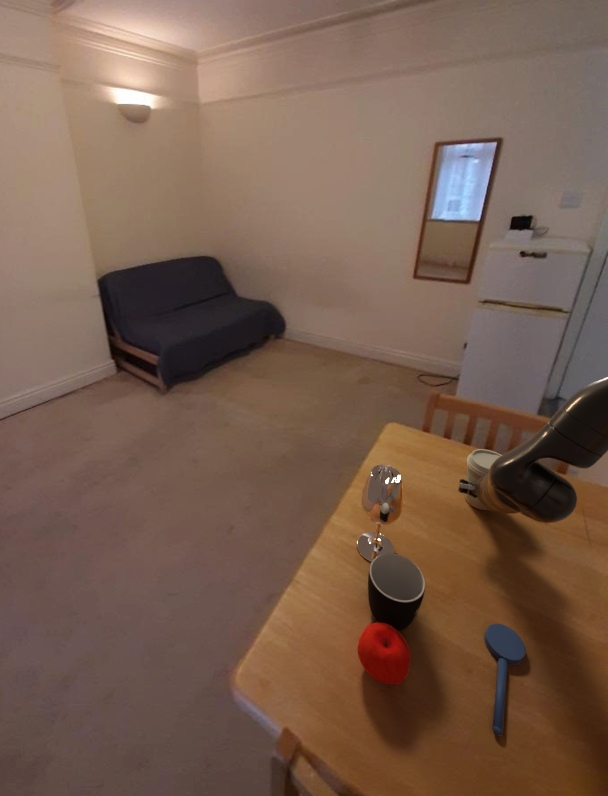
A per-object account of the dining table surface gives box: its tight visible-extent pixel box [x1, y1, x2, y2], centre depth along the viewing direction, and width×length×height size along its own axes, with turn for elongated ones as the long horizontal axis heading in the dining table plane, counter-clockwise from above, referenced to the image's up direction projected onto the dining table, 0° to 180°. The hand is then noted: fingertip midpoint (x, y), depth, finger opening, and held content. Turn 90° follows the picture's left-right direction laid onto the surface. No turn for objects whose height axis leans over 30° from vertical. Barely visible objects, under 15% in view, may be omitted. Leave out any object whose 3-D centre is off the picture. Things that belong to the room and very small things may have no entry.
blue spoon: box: [483, 623, 527, 737], centre depth 62 cm, size 16×6×1 cm, turn 147°
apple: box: [356, 622, 411, 685], centre depth 63 cm, size 8×8×7 cm
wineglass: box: [356, 464, 405, 563], centre depth 80 cm, size 8×8×20 cm
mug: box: [367, 552, 426, 632], centre depth 71 cm, size 12×9×10 cm
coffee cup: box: [464, 448, 503, 511], centre depth 92 cm, size 8×9×12 cm
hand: (484, 495), depth 89 cm, fingers closed
